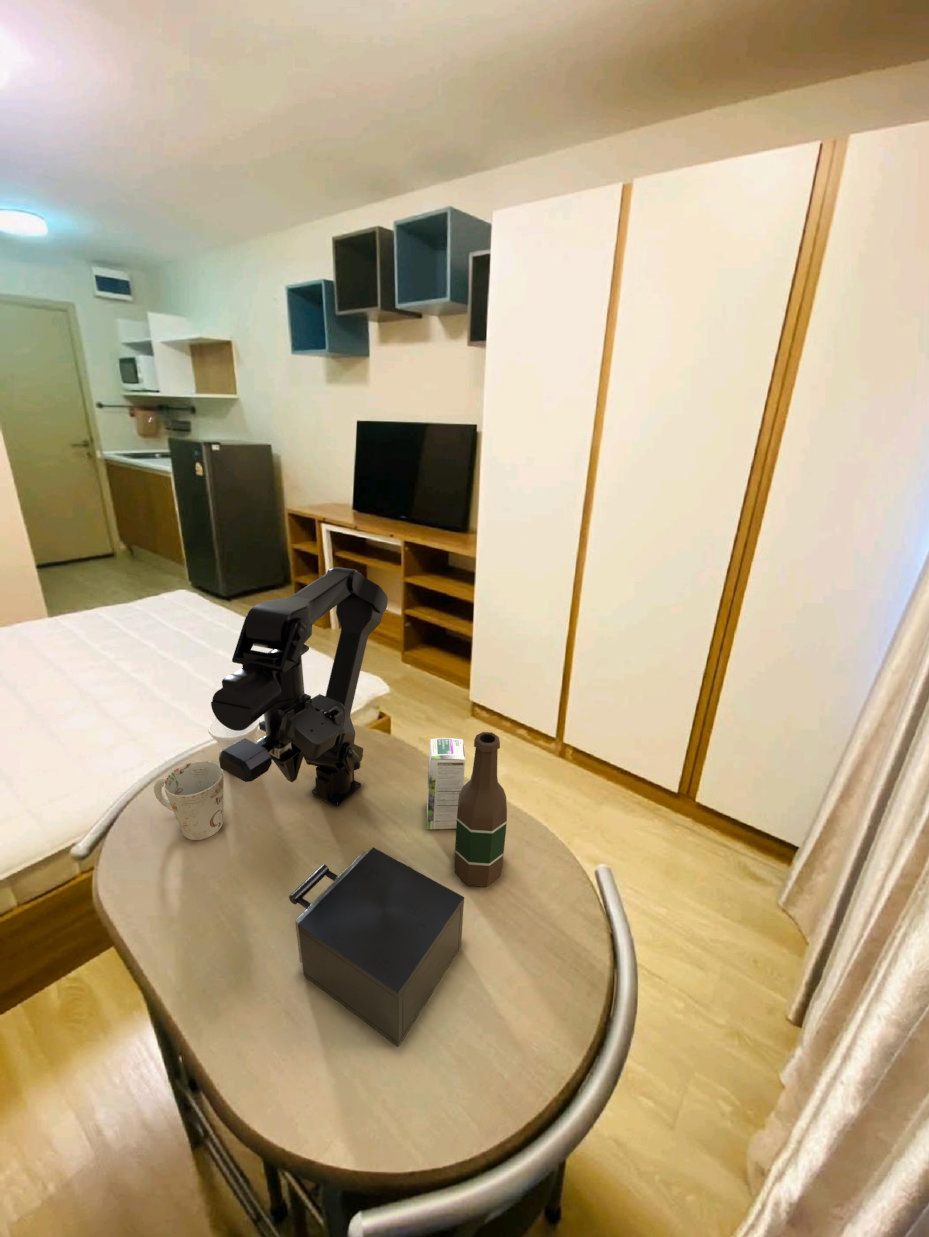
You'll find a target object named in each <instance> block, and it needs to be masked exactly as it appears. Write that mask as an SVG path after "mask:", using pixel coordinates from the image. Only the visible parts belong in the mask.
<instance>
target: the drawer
mask: <svg viewBox="0 0 929 1237" xmlns="http://www.w3.org/2000/svg"><path fill="white" fill-rule="evenodd" d="M367 853H368V852H366V851H363V852H361V853H360V854H359V855H358V857H357V858H355V860H353V861H352V862H351V863H350V865H349V866H347V867H346V869H345V870H343V871H342V872H341V873H340V875H338V874H336V873H334V872H332V871H331V870H330V868H329V866H328V865H327V864H325V863H322V864H321V865H320V866H319V867H318V868H316V870H315V871H313V873H312V874H310V875H309V876H308V877H307V878H306V879H305V880H304V881H303V882H302V883H301V884H299V885H298V887H296V889H295V890H293V892H291V894H289V896H288V899H289V901H290V903H291V904H293V905H297V904H298V905H299V906H301V907H303V908H304V909H305V910H304V911H303V912H302V913H301V914H300V915H299V916H298V917H297V918H296V919H295V922H294V923H295V932H296V940H297V950H298V958H299V962H300V963H301V964H302V956H301V947H300V938H299V929H298V924H299V923H300V922H301V921H302V920H303V919H304V917H305V916H306V915H307V914H308V913H309V912H310V911H311V910H312V909H313V908H314V907H315V906H316V905H317V904H318V903H319V902H320V901H321V900H322V899H323V898H324V897H325V896H326V895H327V894H328V893H329V892H330V891H331V890H332V889H333V888H334V887H335V886H336V885H337V884H338V883H339V882H340V881H341V880H342V879H343V878H344V877H345V875H346V874H347V873H348V872H349V871H350V870H351V869H352V868H353V867H354V866H355V865H356V864H357V863H358V862H359V861H360V860H361V859H362V858H363V857H364V856H365V855H366V854H367ZM325 877H326V878H328V879H330V880H331V881H332V882H331V884H330V885H329V886H328V887H327V888H325V890H324V891H323V892H321V894H320V895H318V897H317V898H316V899H315V900H314V901H313V902H312V903H311V902H310V901H308V900H307V899H305V898H304V897H305V896H307V894H308V893H309V892H310V891H311V890H312V889H314V888H315V886H317V885H318V884H319V882H321V881H322V880H323V878H325Z"/></svg>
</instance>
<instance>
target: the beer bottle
mask: <svg viewBox="0 0 929 1237" xmlns="http://www.w3.org/2000/svg"><path fill="white" fill-rule="evenodd" d="M473 740H474V741H473V747H474V748H475V750H474V757H473V765H472V771H471V772H472V773H471V775H470V779H469V781H467V782H466V783H464V786H463V788H462V790H461V792H460V793H459V800H458V810H457V825H456V829H455V846H454V873H455V874H456V875H457V877H459V878H460V879H461V881H462V882H464V883H465V884H466V885H467V886H472V887H473V886H474V887H489V885H491V884H492V883H493V882H495V881H496V880H497V879H499V877H501V876H502V870H503V864H504V853H505V844H506V843H505V842H506V834H507V833H506V832H507V825H508V824H507V823H508V806H507V805H508V804H507V803H508V802H507V795H506V791H505V789H504V788H503V786H502V785H501V784H500V783H499V779H498V750H499V749H500V748H501V740H500V736H498V735H497V734H496V733H493V732H491V731H490V732H488V731H482V732H480V733H478V734H476V735H475V737H474V739H473Z"/></svg>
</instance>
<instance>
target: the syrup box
mask: <svg viewBox="0 0 929 1237" xmlns="http://www.w3.org/2000/svg"><path fill="white" fill-rule="evenodd" d="M465 748H466V747H465V742H464V739H462V738H454V737H453V738H452V737H437V738H431V739H429V756H428V773H427V798H426V799H427V803H426V806H427V807H426V827H427V830H453V829H455V830H456V825H457V810H458V800H459V793H460V792H461V790H462V788H463V786H464V785H465V772H466V749H465Z"/></svg>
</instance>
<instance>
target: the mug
mask: <svg viewBox="0 0 929 1237" xmlns="http://www.w3.org/2000/svg"><path fill="white" fill-rule="evenodd" d="M224 778H225V776H224V770H223V769H221V768H220V763H218V762H214V761H211V760H198V761H193V762H190V763H186V764H183V765H181V766H179V767H177V768H176V769H174V770H172V772H170V773H169V774H168V776H166V777H161V778H159V779H157V780H156V782H155V783H154V786H153V793H154V796H155V798H156V799H157V801H158V802H159V803H160V805H162V806H163V807H165V808H166V809H167V810H169V811H171V812H173V814H174V816H175V818H176V821H177V823H178V825H179V828H180V831H181V834H182V835H183V836H184V838H186V839H187V840H190V841H201V840H205V839H208V838H209V837H212V836H214V835H215V834H216V833H218V832H219V831H220V830H221V828H222V827H223V825H224V784H225V783H224V782H225V781H224ZM163 789H164V792H165V795H166V797H165V796H164V795H163V793H162V790H163ZM166 798H167V799H166Z"/></svg>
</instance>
